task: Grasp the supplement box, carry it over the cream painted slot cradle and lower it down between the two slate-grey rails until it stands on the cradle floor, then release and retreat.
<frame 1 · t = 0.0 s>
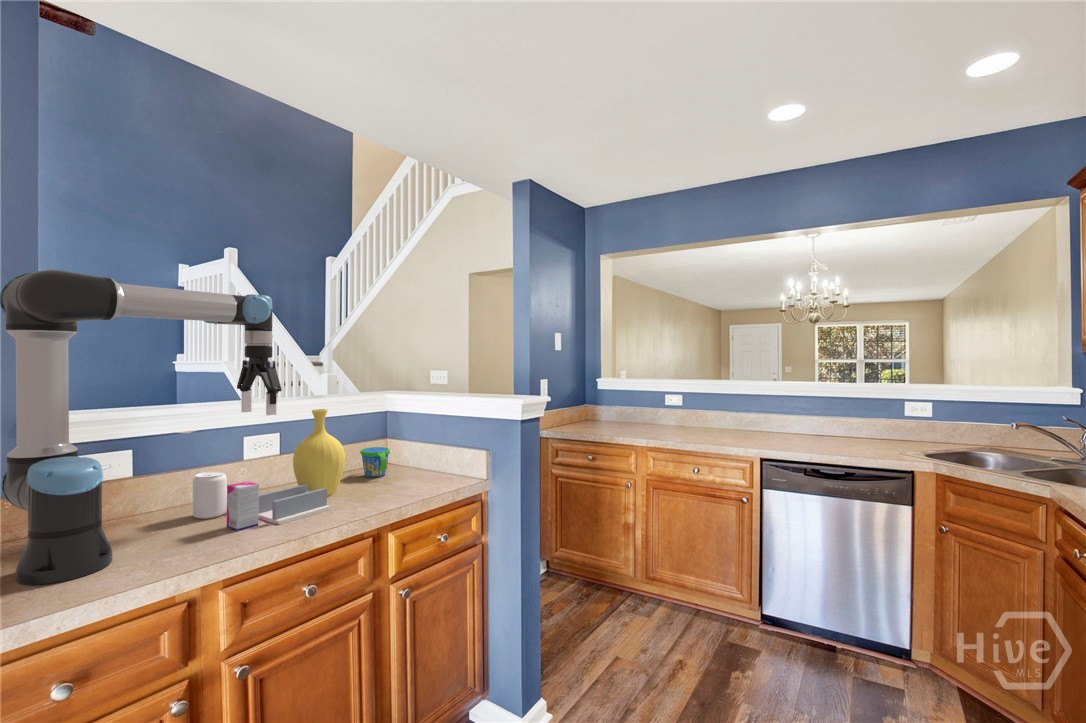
hand: (258, 413, 158), 28 cm above the worktop, fingers open, 13 cm apart
snack cup: (375, 476, 195), on the worktop
beverage can: (210, 516, 146), on the worktop
vase: (319, 494, 170), on the worktop
supplement box: (242, 527, 137), on the worktop
slot cradle: (291, 512, 149), on the worktop
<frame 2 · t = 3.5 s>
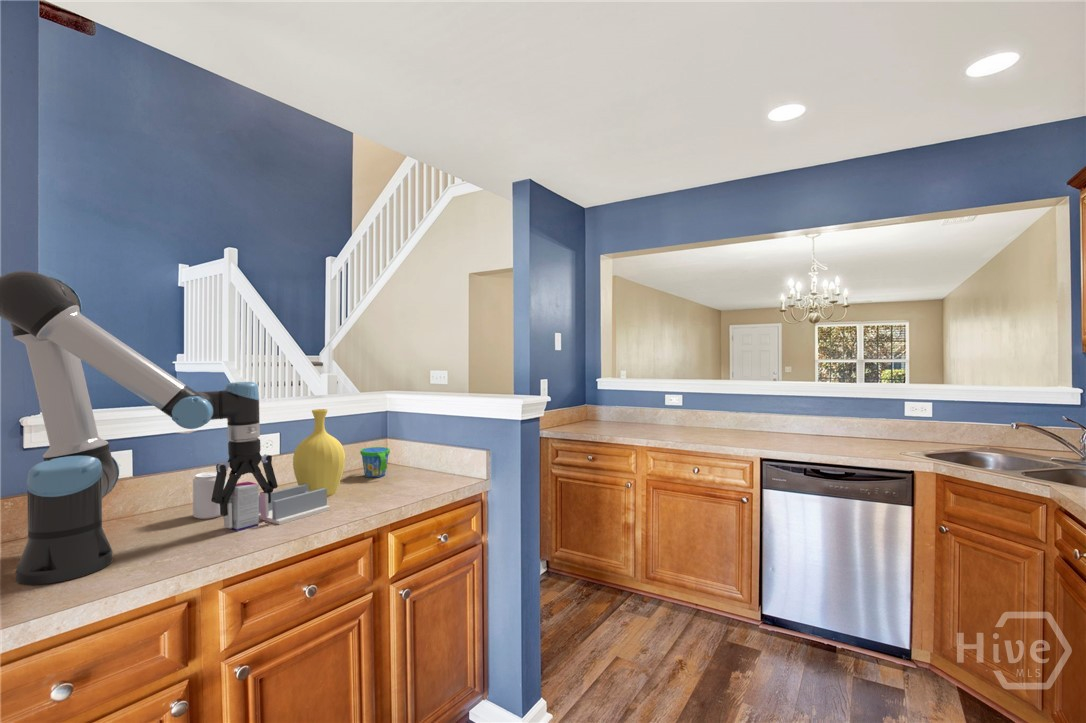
hand: (246, 521, 138), 1 cm above the worktop, fingers open, 9 cm apart
nothing on the worktop moved.
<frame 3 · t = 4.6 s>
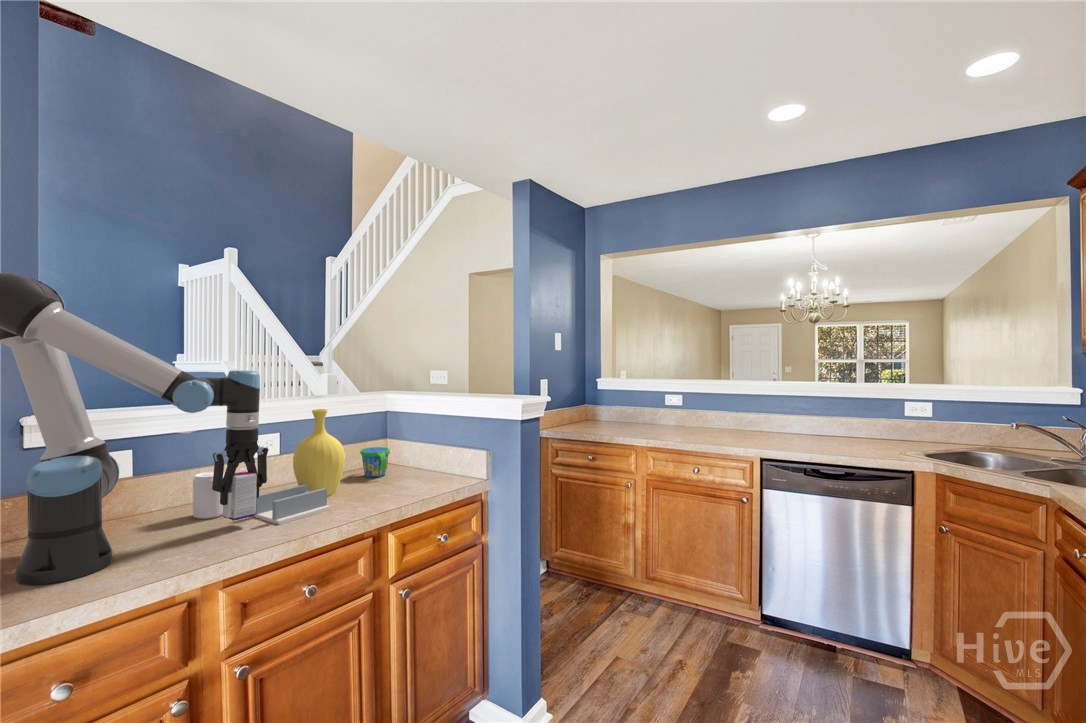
hand: (239, 513, 137), 4 cm above the worktop, fingers closed on supplement box, 6 cm apart
supplement box: (239, 516, 137), point 3 cm above the worktop, touching gripper
everything else where it was.
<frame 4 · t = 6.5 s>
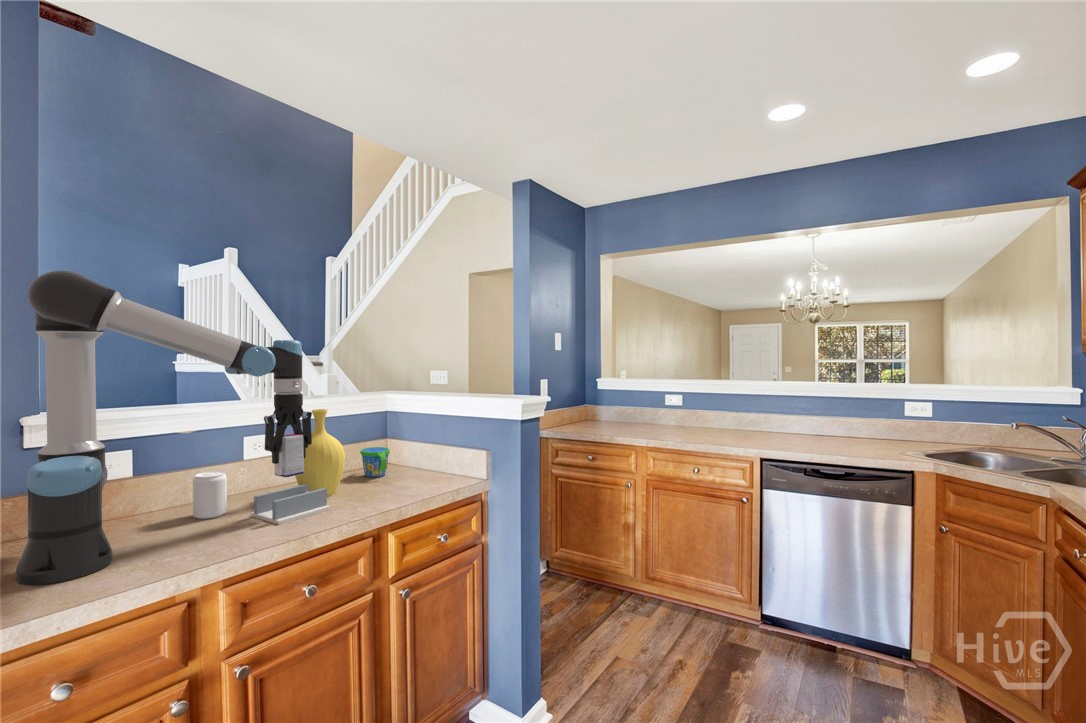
hand: (289, 472, 148), 12 cm above the worktop, fingers closed on supplement box, 6 cm apart
supplement box: (289, 474, 149), point 11 cm above the worktop, touching gripper
everything else where it was.
when the fingers open (3 cm above the worktop, at t = 8.2 s): supplement box drops 1 cm, resting on slot cradle.
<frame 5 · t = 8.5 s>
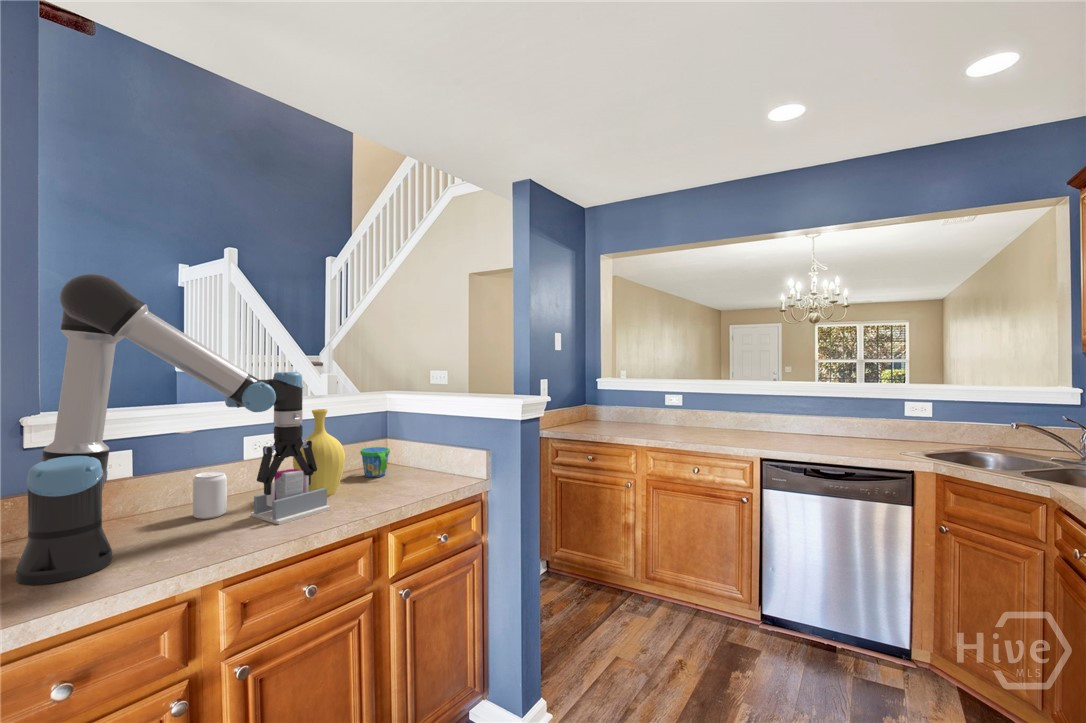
hand: (288, 501, 148), 4 cm above the worktop, fingers open, 10 cm apart
supplement box: (288, 510, 149), point 1 cm above the worktop, touching slot cradle
everything else where it was.
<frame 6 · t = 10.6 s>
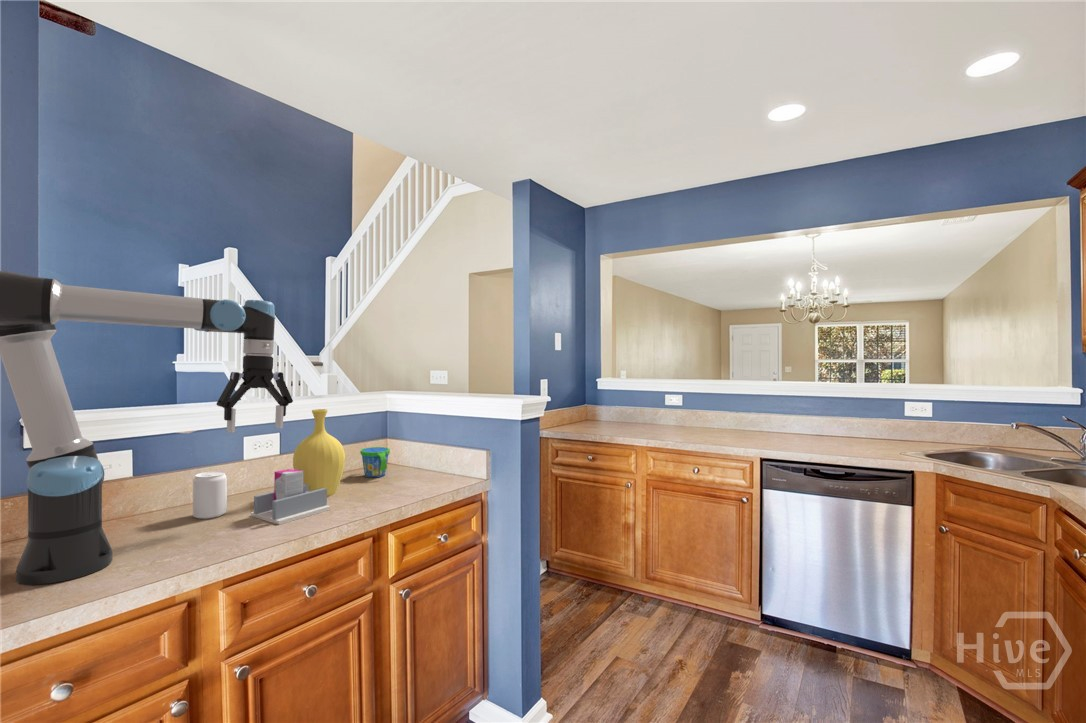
hand: (255, 430, 144), 25 cm above the worktop, fingers open, 13 cm apart
nothing on the worktop moved.
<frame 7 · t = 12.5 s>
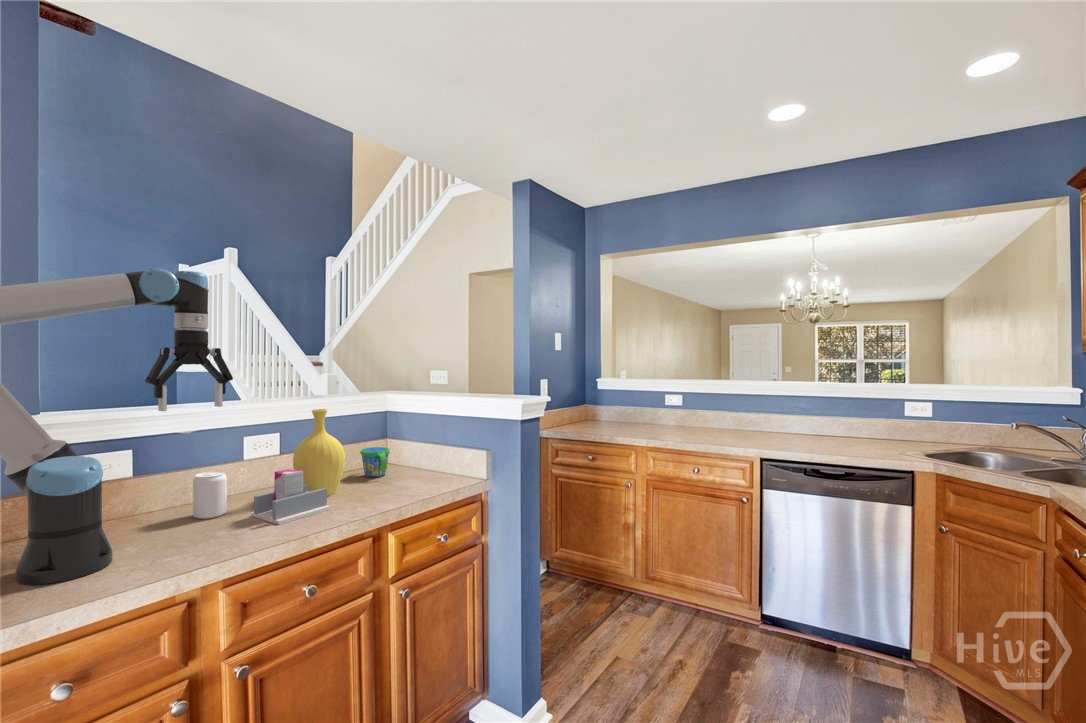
hand: (191, 408, 137), 32 cm above the worktop, fingers open, 13 cm apart
nothing on the worktop moved.
at the end: supplement box inside the target area on the slot cradle (0.3 cm from its centre), point 0.8 cm above the slot cradle's base; supplement box tilted 0°; the gripper is holding nothing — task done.
